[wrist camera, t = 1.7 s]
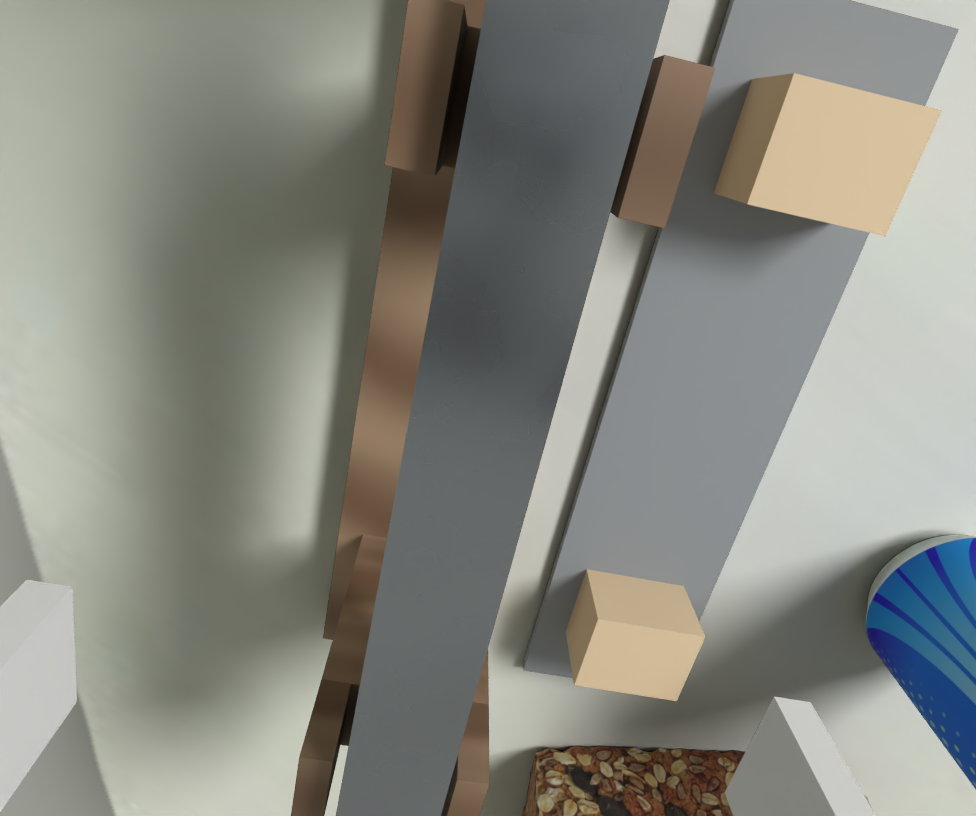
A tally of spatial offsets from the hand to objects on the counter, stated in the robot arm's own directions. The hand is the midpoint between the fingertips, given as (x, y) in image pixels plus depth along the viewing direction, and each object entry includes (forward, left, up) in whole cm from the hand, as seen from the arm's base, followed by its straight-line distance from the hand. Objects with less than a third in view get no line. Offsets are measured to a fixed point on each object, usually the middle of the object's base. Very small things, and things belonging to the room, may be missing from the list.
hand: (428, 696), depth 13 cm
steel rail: (0, 0, -8) cm, 8 cm away
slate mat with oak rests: (0, +11, -18) cm, 21 cm away
